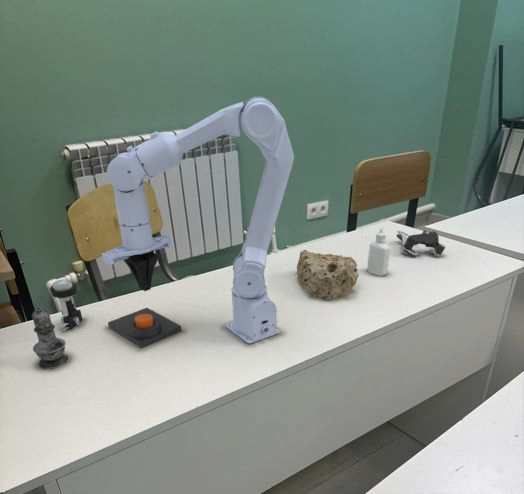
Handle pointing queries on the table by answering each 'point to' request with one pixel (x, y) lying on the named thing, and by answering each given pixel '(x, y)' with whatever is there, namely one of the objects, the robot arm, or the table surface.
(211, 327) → the table surface
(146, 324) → the round orange button cap
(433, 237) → the bicycle component
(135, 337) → the orange button switch
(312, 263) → the rock
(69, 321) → the white black upright piece
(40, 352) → the grey tiered figurine
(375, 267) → the eye dropper bottle
